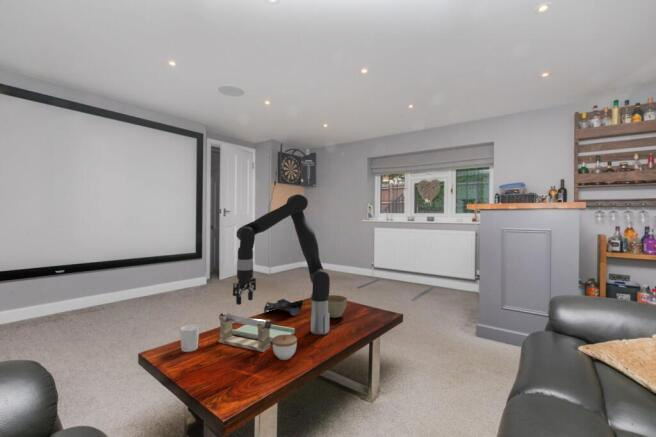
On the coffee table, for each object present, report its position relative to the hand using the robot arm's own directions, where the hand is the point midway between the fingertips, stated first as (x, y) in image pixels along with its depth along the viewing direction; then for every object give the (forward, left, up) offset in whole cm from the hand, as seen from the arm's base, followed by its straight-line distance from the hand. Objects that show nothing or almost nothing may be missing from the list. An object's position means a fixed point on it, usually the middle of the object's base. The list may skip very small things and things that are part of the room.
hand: (244, 302), depth 143 cm
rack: (0, 0, -20) cm, 20 cm away
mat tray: (0, -15, -20) cm, 25 cm away
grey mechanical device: (+7, -47, -21) cm, 52 cm away
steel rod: (0, 0, -9) cm, 9 cm away
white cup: (+20, +14, -21) cm, 32 cm away
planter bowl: (-24, -57, -21) cm, 65 cm away
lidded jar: (-24, +3, -21) cm, 32 cm away
